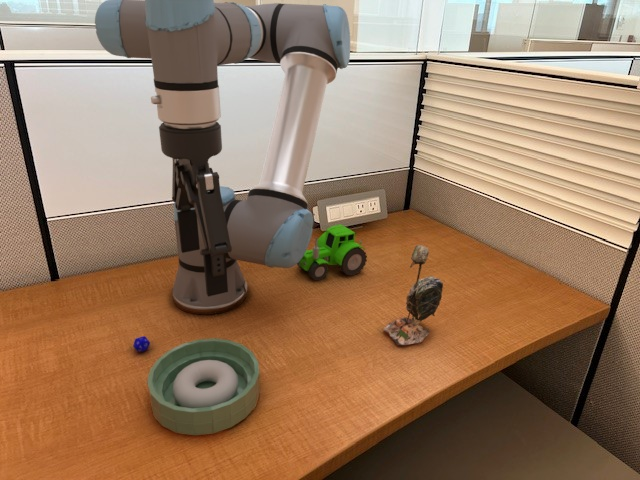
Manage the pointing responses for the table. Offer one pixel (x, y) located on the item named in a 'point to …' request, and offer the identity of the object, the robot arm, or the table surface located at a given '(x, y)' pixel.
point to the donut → (204, 372)
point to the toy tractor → (334, 253)
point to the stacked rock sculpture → (417, 304)
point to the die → (141, 344)
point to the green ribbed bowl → (203, 387)
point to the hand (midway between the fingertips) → (202, 270)
